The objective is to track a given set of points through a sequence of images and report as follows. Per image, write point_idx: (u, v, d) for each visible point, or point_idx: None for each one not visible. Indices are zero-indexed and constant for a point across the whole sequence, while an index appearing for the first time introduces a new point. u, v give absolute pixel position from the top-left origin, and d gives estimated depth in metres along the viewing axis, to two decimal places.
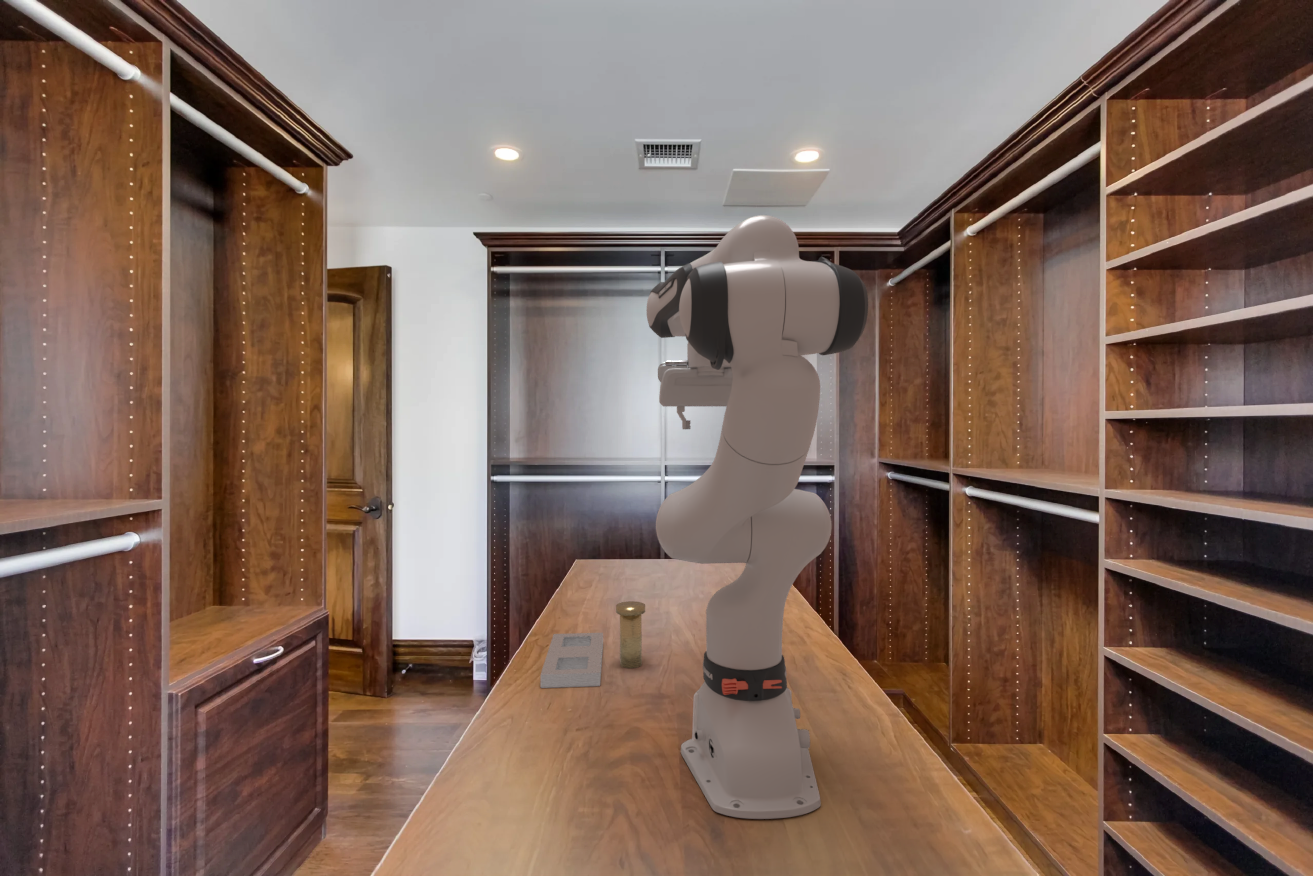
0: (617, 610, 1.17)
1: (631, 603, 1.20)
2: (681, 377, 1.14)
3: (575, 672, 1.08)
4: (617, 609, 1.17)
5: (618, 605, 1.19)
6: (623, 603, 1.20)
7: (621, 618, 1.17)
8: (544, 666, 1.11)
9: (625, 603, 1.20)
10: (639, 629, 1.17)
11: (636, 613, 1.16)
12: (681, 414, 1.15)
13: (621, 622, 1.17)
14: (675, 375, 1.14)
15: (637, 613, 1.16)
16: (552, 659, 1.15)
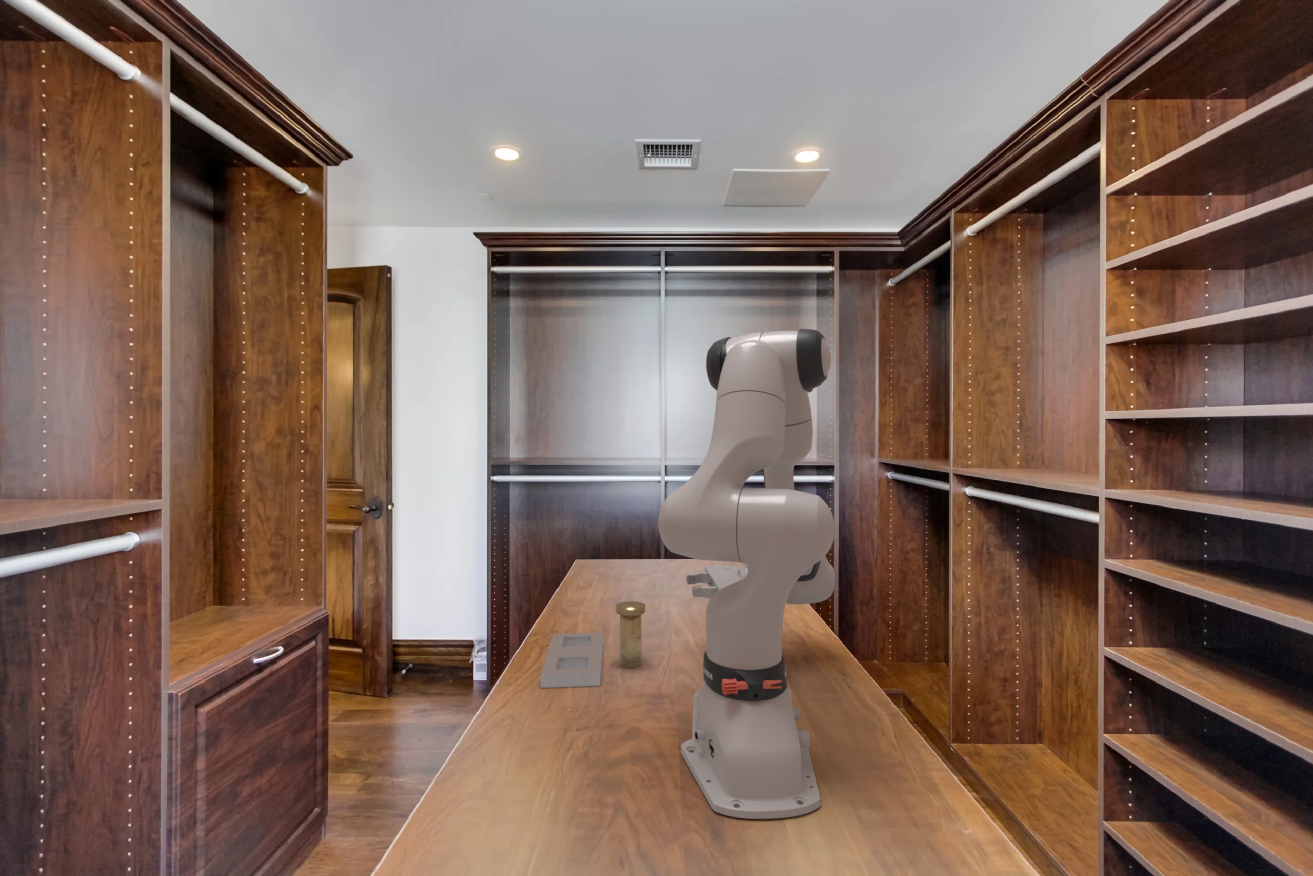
0: (617, 610, 1.17)
1: (631, 603, 1.20)
2: (732, 569, 1.26)
3: (575, 672, 1.08)
4: (617, 609, 1.17)
5: (618, 605, 1.19)
6: (623, 603, 1.20)
7: (621, 618, 1.17)
8: (544, 666, 1.11)
9: (625, 603, 1.20)
10: (639, 629, 1.17)
11: (636, 613, 1.16)
12: (699, 573, 1.25)
13: (621, 622, 1.17)
14: (733, 567, 1.27)
15: (637, 613, 1.16)
16: (552, 659, 1.15)
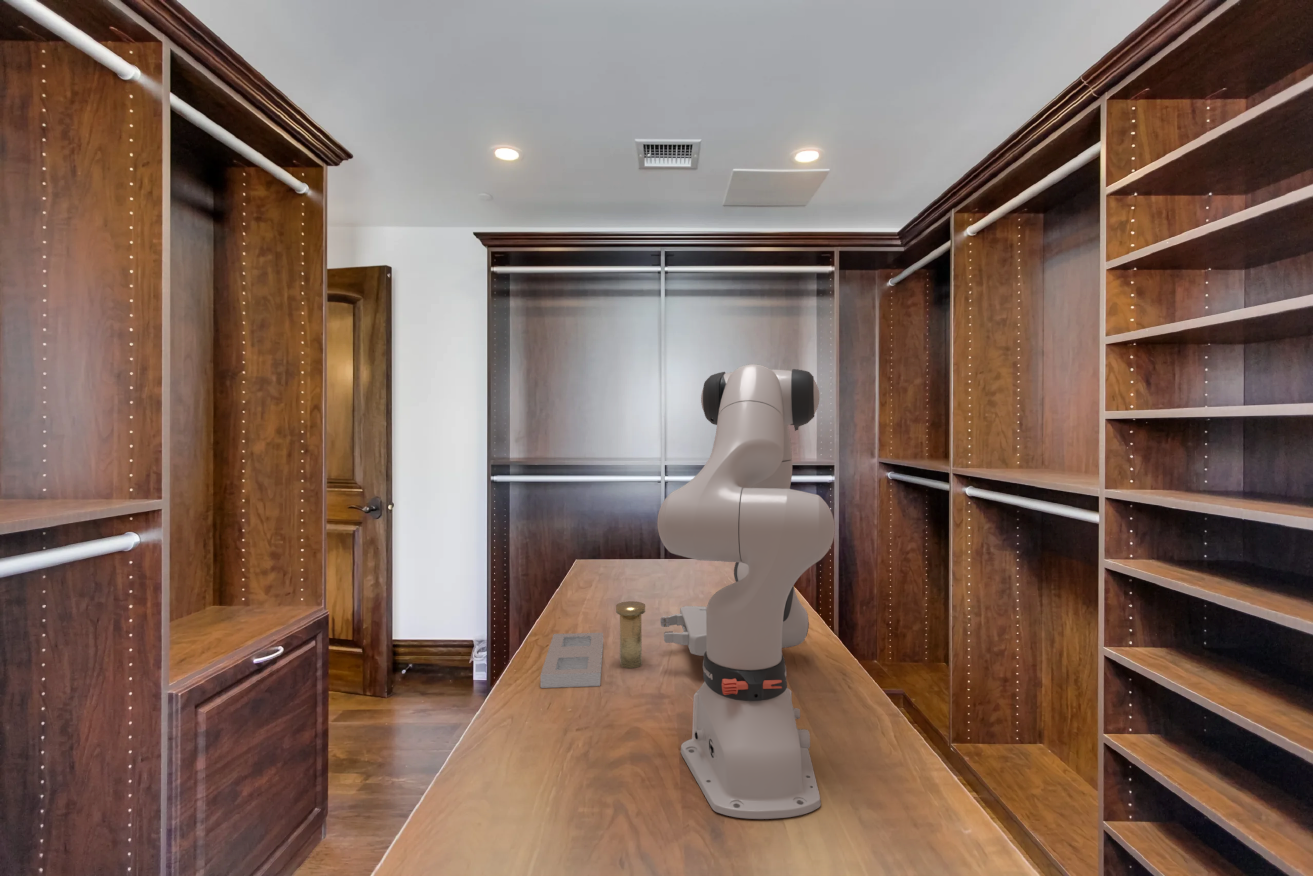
0: (617, 610, 1.17)
1: (631, 603, 1.20)
2: None
3: (575, 672, 1.08)
4: (617, 609, 1.17)
5: (618, 605, 1.19)
6: (623, 603, 1.20)
7: (621, 618, 1.17)
8: (544, 666, 1.11)
9: (625, 603, 1.20)
10: (639, 629, 1.17)
11: (636, 613, 1.16)
12: (673, 615, 1.25)
13: (621, 622, 1.17)
14: None
15: (637, 613, 1.16)
16: (552, 659, 1.15)
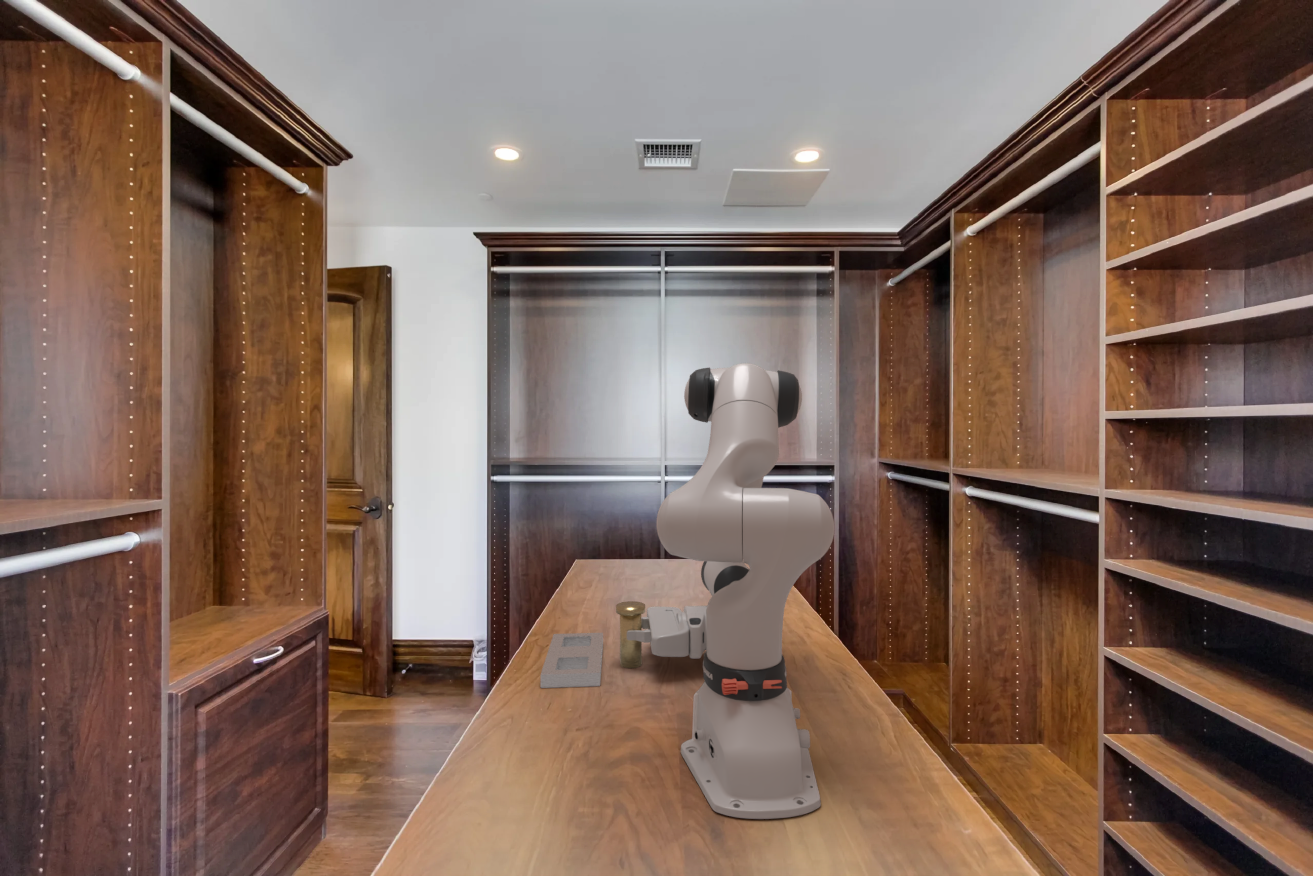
0: (617, 610, 1.17)
1: (631, 603, 1.20)
2: (673, 611, 1.25)
3: (575, 672, 1.08)
4: (617, 609, 1.17)
5: (618, 605, 1.19)
6: (623, 603, 1.20)
7: (621, 618, 1.17)
8: (544, 666, 1.11)
9: (625, 603, 1.20)
10: (639, 629, 1.17)
11: (636, 613, 1.16)
12: None
13: (621, 622, 1.17)
14: (674, 609, 1.26)
15: (637, 613, 1.16)
16: (552, 659, 1.15)
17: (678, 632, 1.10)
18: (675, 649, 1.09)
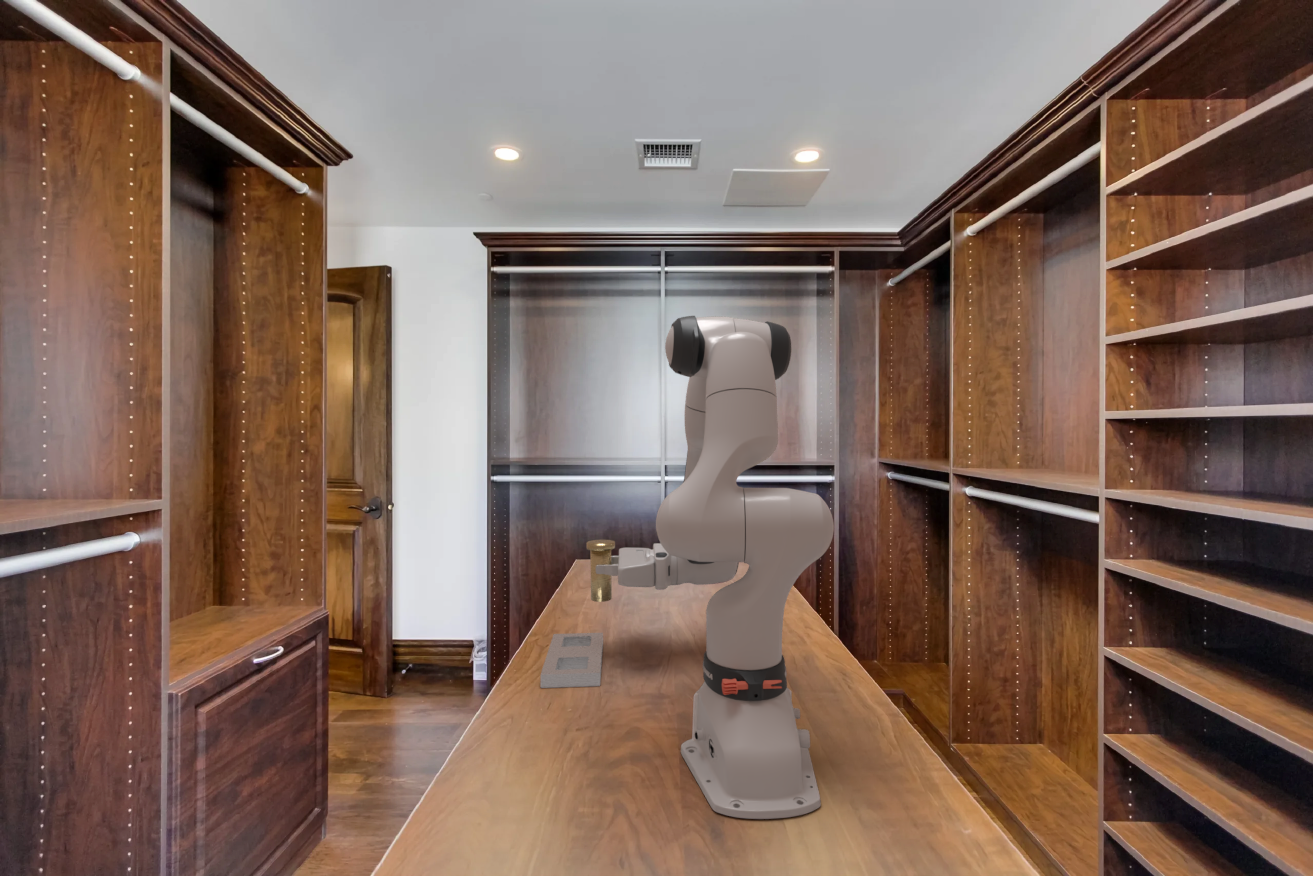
0: (587, 546, 1.21)
1: (601, 540, 1.24)
2: (643, 551, 1.29)
3: (575, 672, 1.08)
4: (587, 545, 1.21)
5: (588, 542, 1.23)
6: (594, 541, 1.24)
7: (591, 554, 1.21)
8: (544, 666, 1.11)
9: (596, 540, 1.24)
10: (608, 564, 1.21)
11: (605, 548, 1.20)
12: None
13: (591, 558, 1.21)
14: (645, 549, 1.30)
15: (606, 548, 1.20)
16: (552, 659, 1.15)
17: (643, 563, 1.14)
18: (640, 579, 1.13)
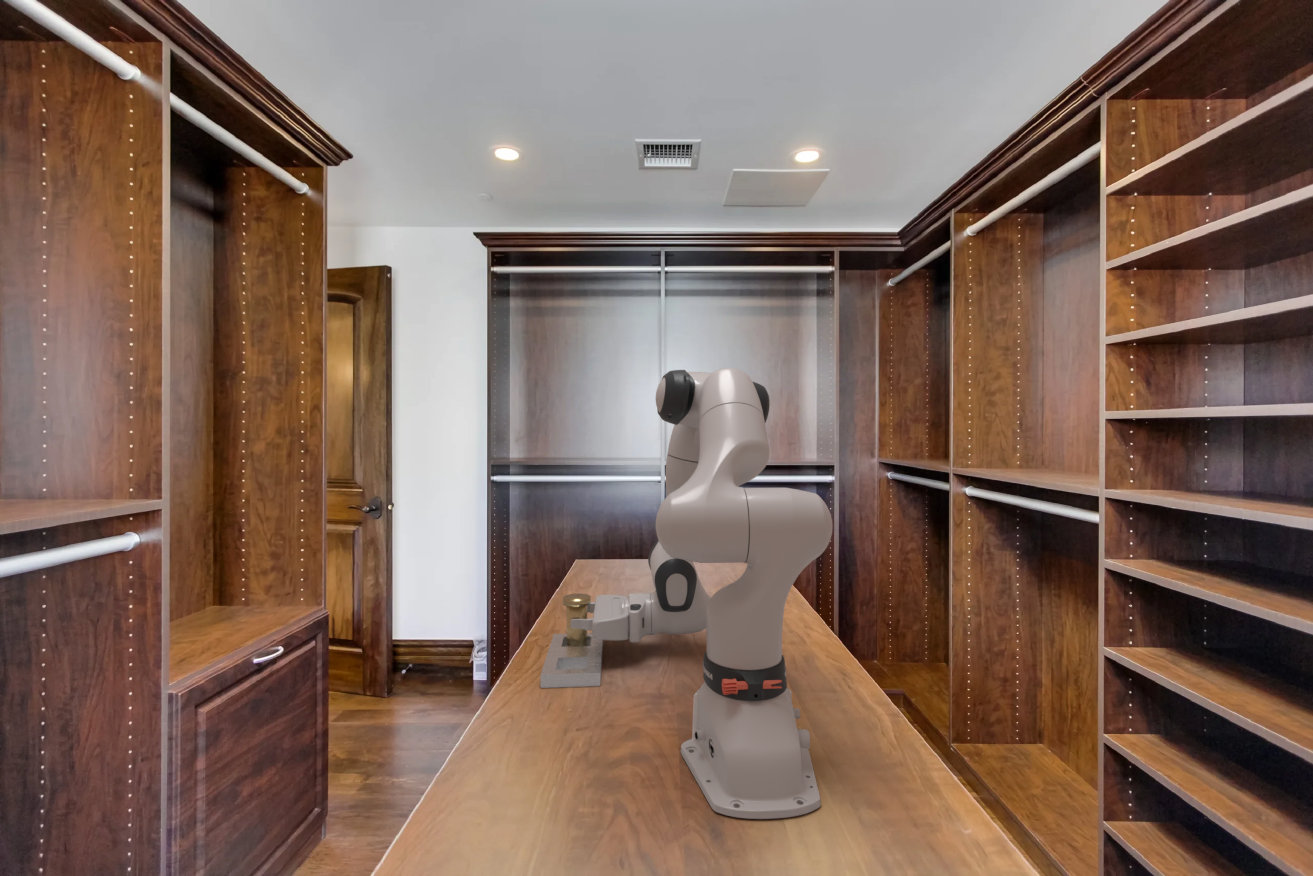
0: (563, 601, 1.23)
1: (578, 595, 1.26)
2: (619, 599, 1.31)
3: (575, 672, 1.08)
4: (563, 600, 1.23)
5: (565, 597, 1.25)
6: (570, 595, 1.26)
7: (567, 609, 1.24)
8: (544, 666, 1.11)
9: (572, 595, 1.26)
10: None
11: (580, 604, 1.22)
12: None
13: (567, 613, 1.24)
14: (621, 597, 1.32)
15: (581, 604, 1.22)
16: (552, 659, 1.15)
17: (617, 617, 1.16)
18: (614, 633, 1.16)
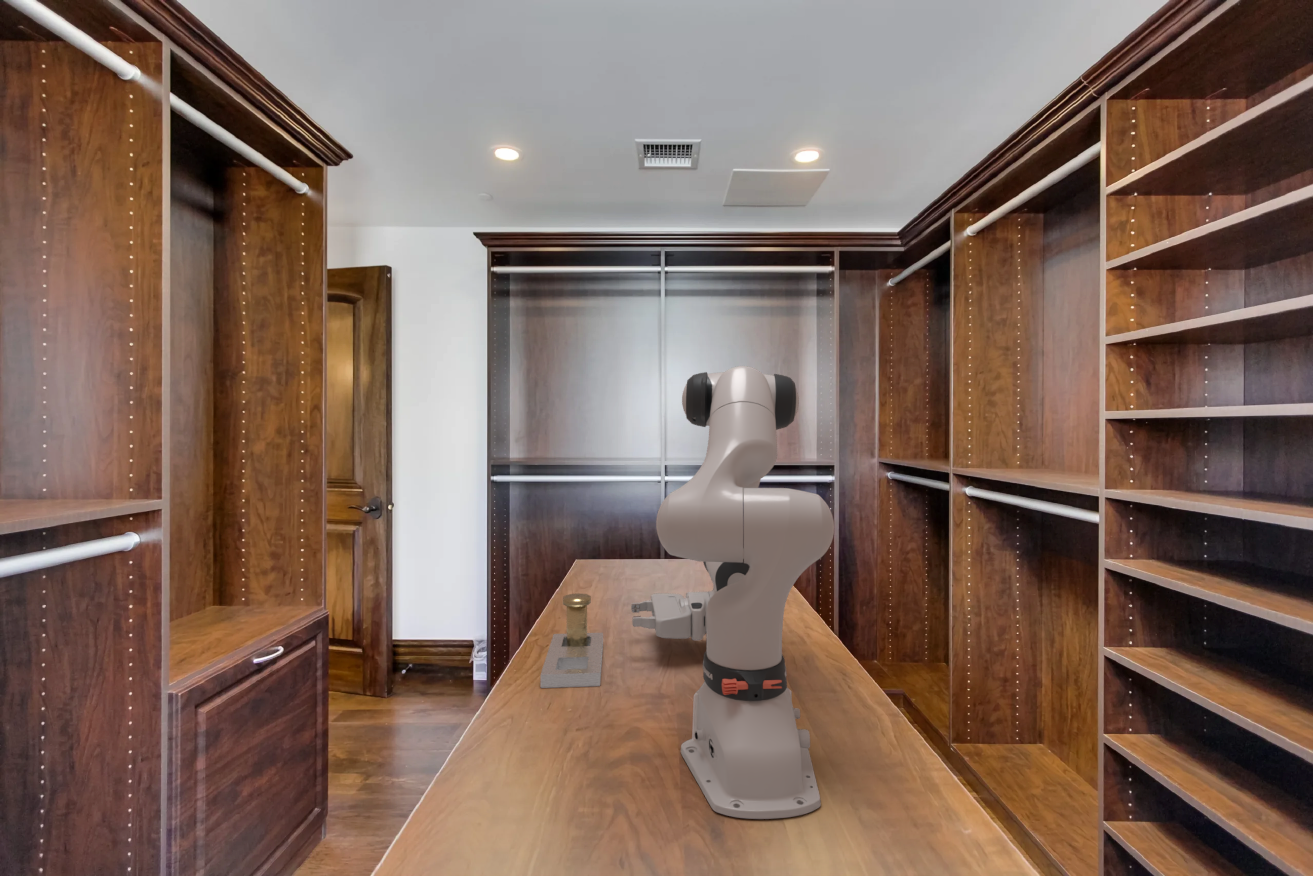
0: (563, 601, 1.23)
1: (578, 595, 1.26)
2: (675, 597, 1.32)
3: (575, 672, 1.08)
4: (563, 600, 1.23)
5: (565, 597, 1.25)
6: (570, 595, 1.26)
7: (567, 609, 1.24)
8: (544, 666, 1.11)
9: (572, 595, 1.26)
10: (584, 619, 1.24)
11: (581, 604, 1.22)
12: (644, 601, 1.31)
13: (567, 613, 1.24)
14: (677, 595, 1.33)
15: (582, 604, 1.22)
16: (552, 659, 1.15)
17: (681, 615, 1.17)
18: (678, 631, 1.16)
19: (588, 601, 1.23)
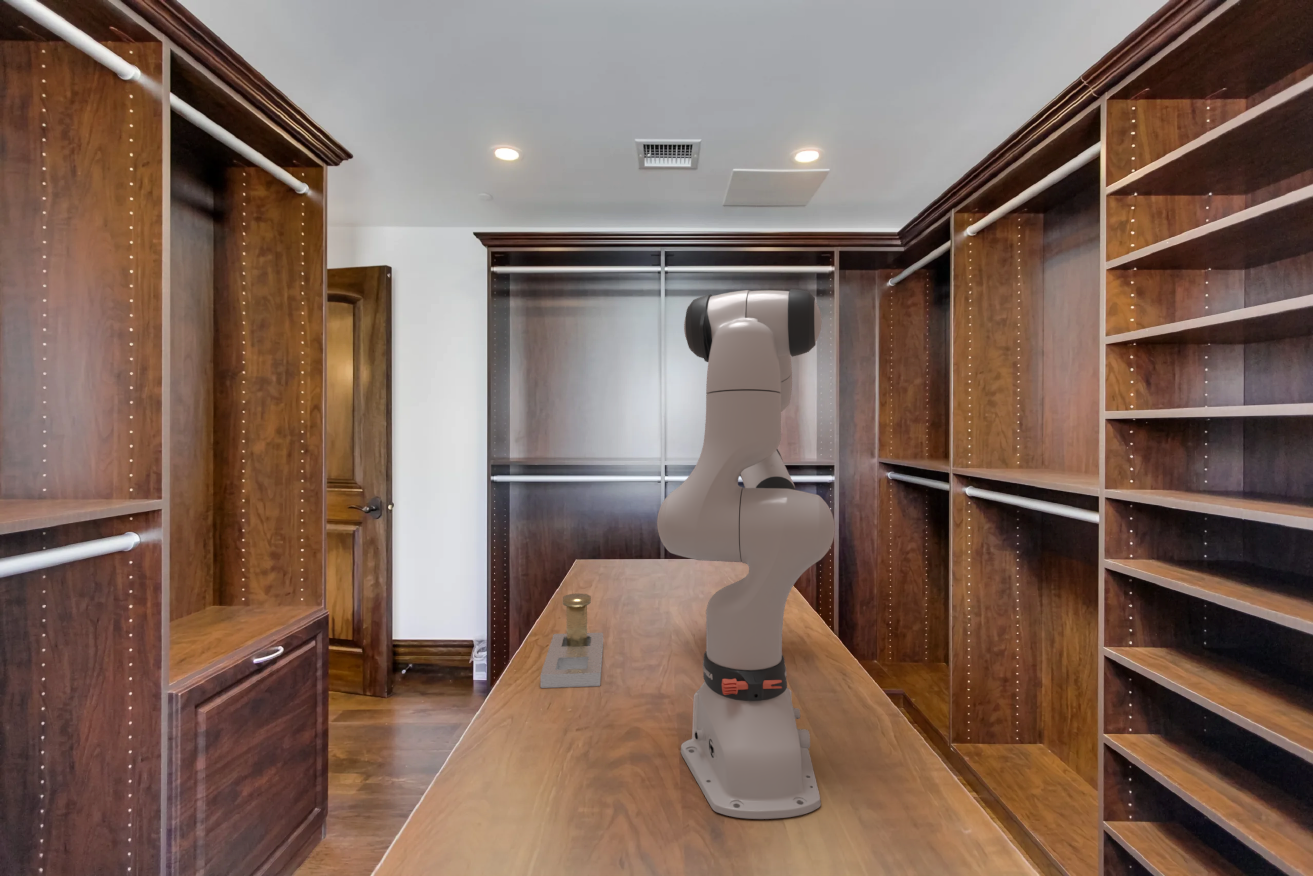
0: (563, 601, 1.23)
1: (578, 595, 1.26)
2: None
3: (575, 672, 1.08)
4: (563, 600, 1.23)
5: (565, 597, 1.25)
6: (570, 595, 1.26)
7: (567, 609, 1.24)
8: (544, 666, 1.11)
9: (572, 595, 1.26)
10: (584, 619, 1.24)
11: (580, 604, 1.22)
12: None
13: (567, 613, 1.24)
14: None
15: (581, 604, 1.22)
16: (552, 659, 1.15)
17: None
18: None
19: (588, 601, 1.23)
